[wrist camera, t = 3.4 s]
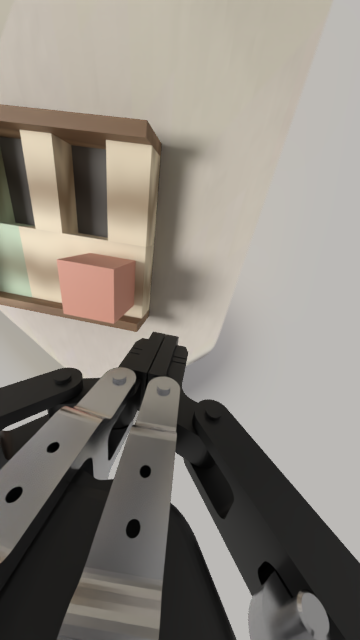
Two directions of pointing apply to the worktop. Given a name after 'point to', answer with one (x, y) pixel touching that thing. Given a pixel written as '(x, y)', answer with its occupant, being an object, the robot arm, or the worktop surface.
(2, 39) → the worktop surface
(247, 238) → the worktop surface
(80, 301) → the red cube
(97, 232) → the box
